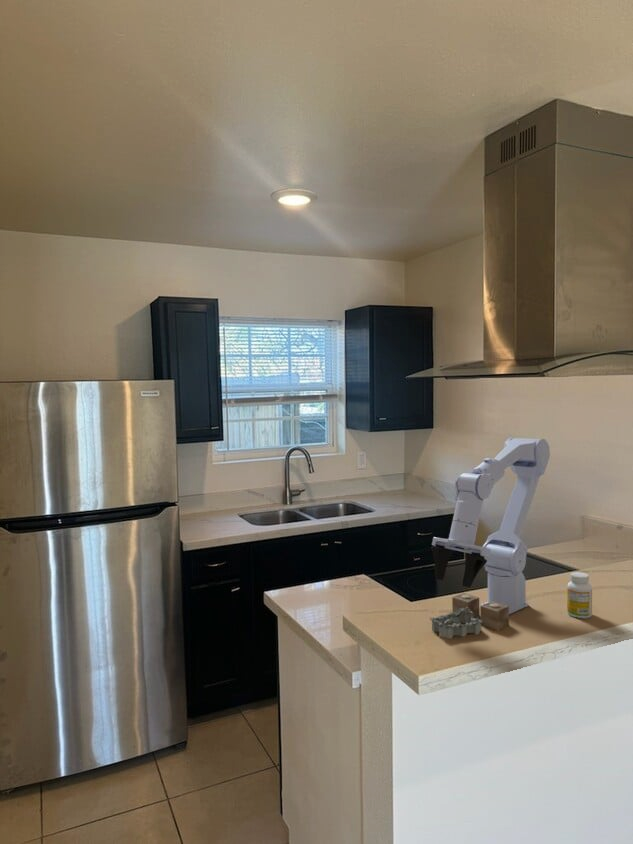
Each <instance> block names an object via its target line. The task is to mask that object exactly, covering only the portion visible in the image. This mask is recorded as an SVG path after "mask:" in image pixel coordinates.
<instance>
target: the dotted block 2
mask: <svg viewBox="0 0 633 844" xmlns="http://www.w3.org/2000/svg"><path fill="white" fill-rule="evenodd" d="M479 613H480V619H481V620H482V622H484V623H481V626H483V627H486V628H489V629H492V630H495V631H500V630H502V629H504V628H506V627H508V626H510V619H509V617H510V614H509V606H506V605H503V604H499V603H496V602H493V601H491V602H489V603H487V604H484V605H482V606H481V605H479Z"/></svg>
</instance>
